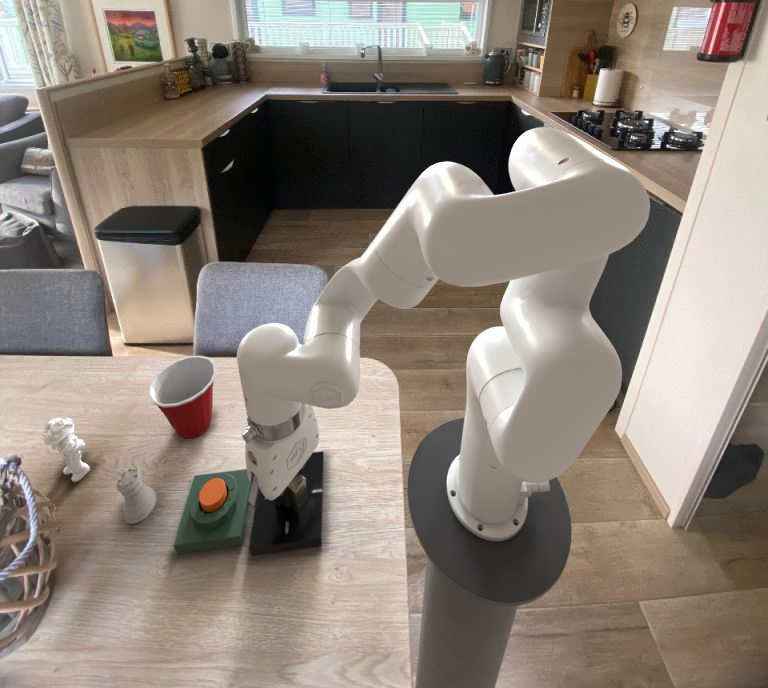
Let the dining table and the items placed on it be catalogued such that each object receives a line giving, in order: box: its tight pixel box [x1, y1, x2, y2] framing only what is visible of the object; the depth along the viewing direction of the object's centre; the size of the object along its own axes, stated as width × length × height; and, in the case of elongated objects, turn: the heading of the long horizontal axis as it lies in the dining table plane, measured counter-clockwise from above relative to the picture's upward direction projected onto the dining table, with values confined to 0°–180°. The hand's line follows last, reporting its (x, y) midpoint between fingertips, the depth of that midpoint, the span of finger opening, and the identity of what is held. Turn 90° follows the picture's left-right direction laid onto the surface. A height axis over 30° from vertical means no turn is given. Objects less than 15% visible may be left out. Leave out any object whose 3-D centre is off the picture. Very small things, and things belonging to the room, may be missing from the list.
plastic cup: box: [147, 355, 217, 441], centre depth 70 cm, size 11×11×12 cm
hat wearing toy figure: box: [41, 417, 90, 483], centre depth 63 cm, size 9×4×12 cm, turn 60°
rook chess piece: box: [115, 466, 157, 524], centre depth 58 cm, size 4×4×8 cm
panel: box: [248, 450, 325, 557], centre depth 60 cm, size 10×12×2 cm
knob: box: [287, 473, 308, 512], centre depth 59 cm, size 6×2×5 cm, turn 58°
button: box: [199, 478, 227, 513], centre depth 58 cm, size 4×4×2 cm
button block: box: [173, 468, 252, 555], centre depth 59 cm, size 9×9×4 cm
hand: (289, 490), depth 60 cm, fingers closed on knob, 2 cm apart
